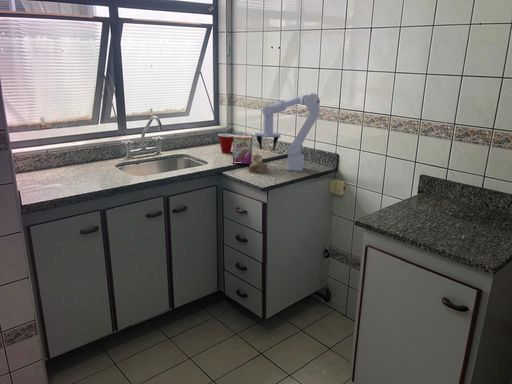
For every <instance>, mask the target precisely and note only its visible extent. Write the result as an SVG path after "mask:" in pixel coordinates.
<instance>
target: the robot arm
mask: <svg viewBox="0 0 512 384" xmlns="http://www.w3.org/2000/svg"><path fill="white" fill-rule="evenodd" d="M320 103H321V100H320V98H319V96H318V95H317V94H316V93H314V92H312V93H309V94H308V93H307V94H304V95H299V96H297V97H294V98H291V99H289V100H286V101H284V100H281V99H279V100H277V101H276V102H270V103H269V104H267V105H265V106H264V107H263V108H262V110H261V111H262V114H263V120H262V124H263V125H262V132H255V135H254V137H256V140H257V142H258V145H259V149H260V150H262V147H263V146H262V144H263V138H273V148H272V151H275V149H276V146H277V142H278V140H279V139H281V135H282V134H281V133H274V114H278V113H281V112H285V111H286V110H287V108H288V107H292V106H295V105H298V104H299V105H305V106H306V108H307V109H308V112H309V115H308V116H307V117H306V120H305V121H304V123H303V125H302V126H301V128H300V129H299V132H298V133H297V135H296V137H295V138H294V140H293V141H292V142H291V143H290V144H289V145H288V147H287V150H286V151H287V165H286V169H285V170H286V171H293V172H295V171H296V172H303V171H304V168H305V164H304V162H305V154H302V153H301V150H302V148H303V143H304V141H305V139H306V137H307V136H308V134H309V132H310V131H311V129H312V127H313V125H314V124H315V123H316V121H317V119H318V118H319V115H320V112H321V109H320V107H321V106H320V105H321V104H320Z"/></svg>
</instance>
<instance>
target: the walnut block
mask: <svg viewBox="0 0 512 384" xmlns="http://www.w3.org/2000/svg"><path fill="white" fill-rule="evenodd" d="M267 164H268V163H265V162H262V165H261V166H256V165H252V163H251V164H248V165H249V166H248V173H255V174H264V173H265V172H266V171H267V170H268V169H267V167H268V165H267Z"/></svg>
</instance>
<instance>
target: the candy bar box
mask: <svg viewBox="0 0 512 384" xmlns="http://www.w3.org/2000/svg"><path fill="white" fill-rule="evenodd" d="M233 135H234V137H233V141H232V164H234V162H241V163H245V164H244V165H251V164H252V161H253V142H254V141H253V139H254V138H253V137H254V136H253V135H252V136H251V135H237V134H236V135H235V134H233Z"/></svg>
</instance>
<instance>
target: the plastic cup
mask: <svg viewBox="0 0 512 384" xmlns="http://www.w3.org/2000/svg"><path fill="white" fill-rule="evenodd" d="M234 135H235V134H232V133H218V134H217V136H218V139H219V146H220V150H221V153H222V154H230V153H231V150H232V148H233V137H234Z"/></svg>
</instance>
